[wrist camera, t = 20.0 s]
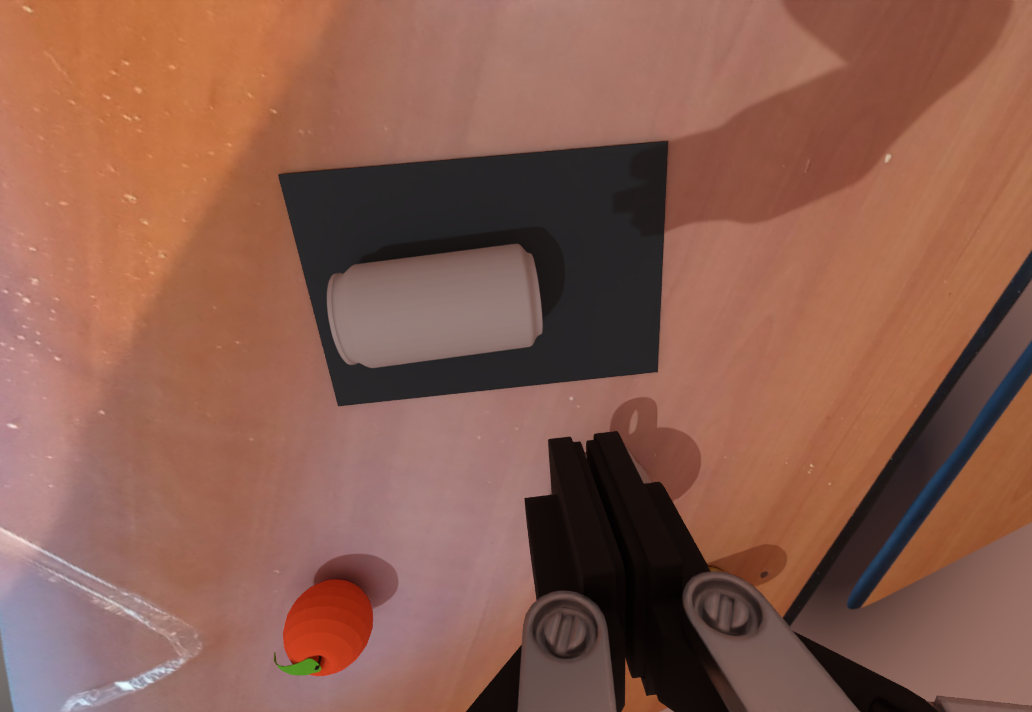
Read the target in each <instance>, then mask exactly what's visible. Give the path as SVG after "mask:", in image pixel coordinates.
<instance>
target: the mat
mask: <svg viewBox="0 0 1032 712" xmlns="http://www.w3.org/2000/svg"><path fill="white" fill-rule="evenodd" d="M667 155H668V141H665V142H653V143H641V144H629V145H618V146H606V147H594V148H582V149H571V150H559V151H547V152H535V153H524V154H512V155H500V156H488V157H477V158H465V159H453V160H441V161H430V162H418V163H406V164H394V165H383V166H371V167H359V168H347V169H335V170H324V171H312V172H300V173H288V174H279V175H278V176H279V180H280V184H281V188H282V191H283V195H284V199H285V203H286V207H287V211H288V215H289V218H290V222H291V226H292V230H293V234H294V238H295V242H296V245H297V249H298V253H299V257H300V261H301V265H302V269H303V272H304V276H305V280H306V284H307V288H308V292H309V296H310V299H311V303H312V307H313V311H314V315H315V319H316V323H317V326H318V330H319V334H320V338H321V342H322V346H323V349H324V353H325V357H326V361H327V365H328V369H329V373H330V376H331V380H332V384H333V388H334V392H335V396H336V400H337V403H338V406H345V405H354V404H364V403H373V402H382V401H391V400H401V399H410V398H419V397H429V396H438V395H447V394H457V393H466V392H475V391H485V390H494V389H503V388H513V387H522V386H531V385H541V384H550V383H559V382H569V381H578V380H587V379H596V378H606V377H615V376H624V375H634V374H643V373H652V372H658V352H659V330H660V308H661V287H662V265H663V243H664V221H665V199H666V177H667ZM510 244H519V245H521V246H522V248H523V249H524V250H525V251H526V252H527V253H531V254H532V256H533V259H534V262H535V267H536V272H537V277H538V284H539V291H540V298H541V308H542V323H543V329H542V334H541V335H539V336H537V338H536V339H535V341H534V343H533V345H532V346H530V347H525V348H517V349H510V350H503V351H495V352H488V353H480V354H473V355H466V356H458V357H451V358H444V359H436V360H429V361H422V362H414V363H407V364H400V365H392V366H385V367H377V368H369V367H367V366H364V365H363V364H361V363H358V364H354V365H349V364H347V363H346V362H345V361H344V360H343V359H342V357H341V356H340V354H339V352H338V350H337V347H336V345H335V342H334V339H333V336H332V332H331V328H330V323H329V317H328V309H327V289H328V283H329V280H330V278H331V276H332V275H333V274H336V273H342V274H344V273H345V272H346V271H347V270H348V269H349V268H350V267H351V266H353V265H355V264H363V263H371V262H378V261H386V260H394V259H402V258H409V257H417V256H425V255H433V254H440V253H448V252H456V251H464V250H472V249H479V248H487V247H495V246H503V245H510Z"/></svg>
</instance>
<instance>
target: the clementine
mask: <svg viewBox="0 0 1032 712" xmlns="http://www.w3.org/2000/svg"><path fill="white" fill-rule="evenodd" d="M372 627H373V611H372V607H371V603H370V601H369V599H368V597H367V596H366V594H365V593H364V592H363V591H362V590H361V588H360V587H358V586H357V585H355V584H354V583H351V582H349V581H345V580H340V579H333V580H327V581H323V582H321V583H319V584H316V585H314V586H312V587H310V588H309V589H308V590H306V591H305V592H304V593H303V594H302V595H301V596H300V597H299V598H298V599H297V600H296V602H295V603H294V604H293V606H292V608H291V609H290V611H289V613H288V615H287V618H286V622H285V626H284V631H283V640H284V648H285V651H286V653H287V655H288V658H289V659H290V661H291V663H292V664H293V665H289V666H280V665H278V664H277V663H276V655H275V652H274V662H275V663H276V665H277V666H278V667H279V668H280V670H282V671H284V672H286V673H288V674H291V675H308V674H309V675H314V676H325V675H330V674H334V673H337V672H339V671H342V670H343V669H345V668H346V667H347V666H349V665H350V664H351V663H353V662H354V661H355V660H356V659H357V658H358V656H359V655H360V654H361V652H362V651H363V650H364V648H365V647H366V645H367V643H368V640H369V637H370V634H371V631H372Z"/></svg>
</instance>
